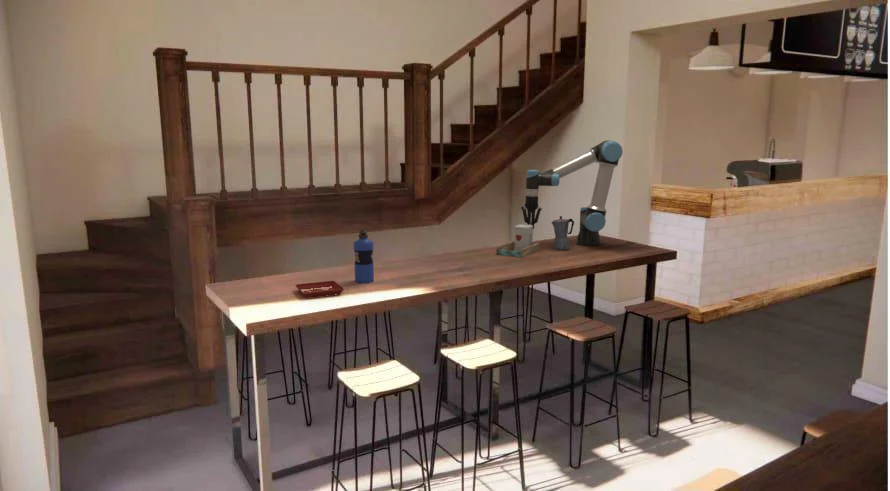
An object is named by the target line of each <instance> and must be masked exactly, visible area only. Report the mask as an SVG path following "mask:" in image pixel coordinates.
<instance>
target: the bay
mask: <svg viewBox="0 0 890 491" xmlns="http://www.w3.org/2000/svg"><path fill="white" fill-rule="evenodd" d="M540 243H541V242H537V243H534V244H532V245H531V246H529V247H526V248H523V249H521V252H519V251H514V245H515V239H514V240H512V241H509V242H506V243H504V244H502V245H498V246H496V255H497V256H504V257H505V256H507V257H515V258H525V257H528V256H529V255H532V254H534V253H537V252H540V249H541V248H540V247H541V246H540V245H541V244H540Z"/></svg>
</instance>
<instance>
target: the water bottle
mask: <svg viewBox="0 0 890 491" xmlns="http://www.w3.org/2000/svg"><path fill="white" fill-rule="evenodd" d="M358 233H359V234H358V239H357V240H355V241H353V250H354V265H353V266H354V283H356V282H358V283H357V284H361V283H366V284H371V283H370V282H372V283H374V282H375V277H374V276H375V275H374V274H375V273H374V272H375V271H374V259H373V255H374V241H372V240H370V239H369V238H368V237H369V236H368V231H367V230H366V229H360V230H359V232H358ZM373 281H374V282H373Z"/></svg>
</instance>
